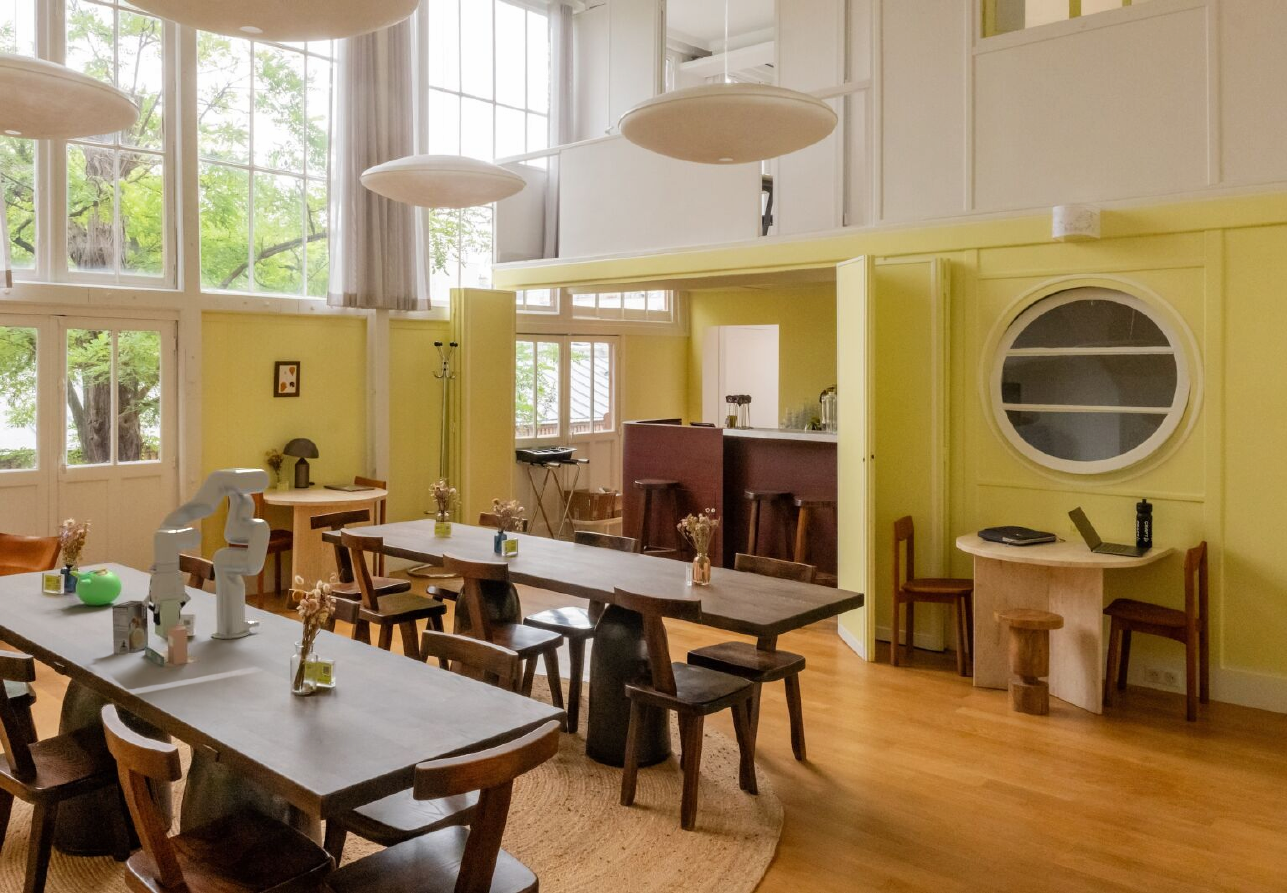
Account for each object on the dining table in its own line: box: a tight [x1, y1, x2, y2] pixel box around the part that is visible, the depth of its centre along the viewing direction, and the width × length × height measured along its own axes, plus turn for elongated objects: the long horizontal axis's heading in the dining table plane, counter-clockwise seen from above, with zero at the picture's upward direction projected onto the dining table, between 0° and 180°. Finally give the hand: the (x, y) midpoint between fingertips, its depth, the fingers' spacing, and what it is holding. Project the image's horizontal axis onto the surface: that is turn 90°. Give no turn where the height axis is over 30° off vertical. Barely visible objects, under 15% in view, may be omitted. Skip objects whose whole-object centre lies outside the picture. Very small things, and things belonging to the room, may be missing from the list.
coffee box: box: [112, 600, 149, 655], centre depth 330 cm, size 9×6×16 cm
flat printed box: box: [144, 645, 200, 668], centre depth 318 cm, size 11×18×4 cm, turn 42°
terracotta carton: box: [167, 624, 189, 666], centre depth 313 cm, size 4×6×11 cm
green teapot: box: [69, 567, 122, 606], centre depth 395 cm, size 18×17×15 cm
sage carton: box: [154, 599, 180, 639], centre depth 320 cm, size 8×5×12 cm, turn 43°
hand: (166, 622), depth 320 cm, fingers closed on sage carton, 5 cm apart
